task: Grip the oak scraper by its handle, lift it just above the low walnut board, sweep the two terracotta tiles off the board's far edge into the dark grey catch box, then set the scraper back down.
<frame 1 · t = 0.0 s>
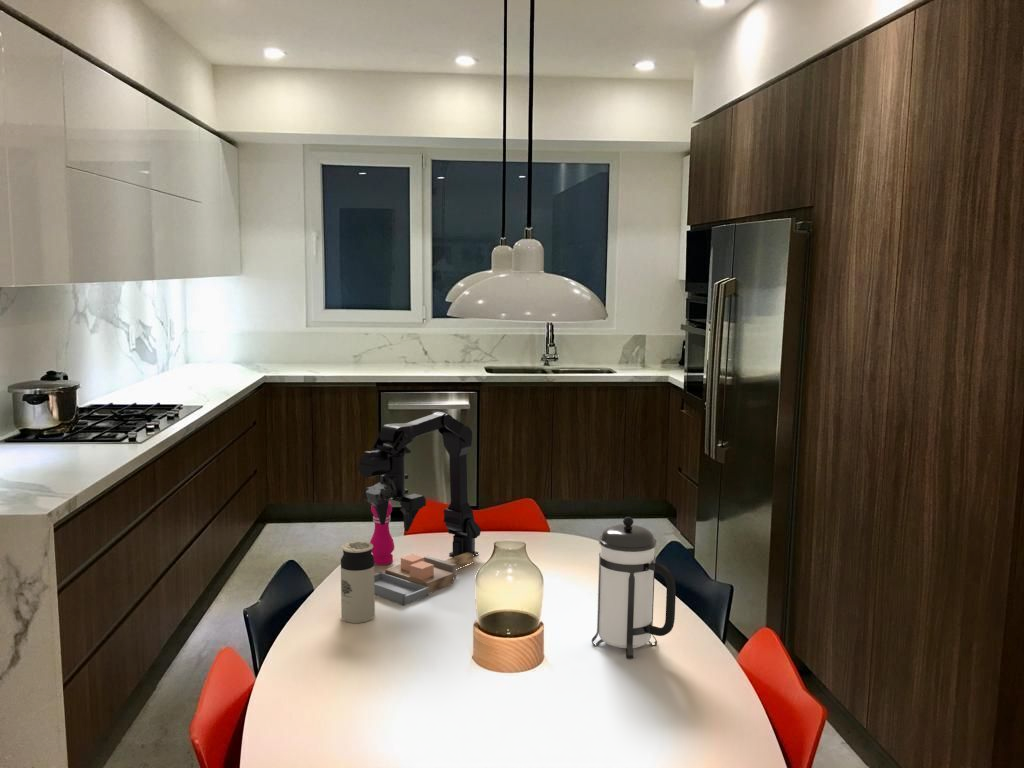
hand: (394, 528, 235), 15 cm above the table, tool pointing down, fingers open, 9 cm apart
catch box: (392, 592, 228), on the table
pepper mill: (381, 562, 253), on the table
scraper: (451, 570, 246), on the table
board: (419, 581, 236), on the table
travel mug: (358, 618, 212), on the table
coffee press: (629, 646, 198), on the table
tile a: (412, 568, 238), point 3 cm above the table, touching board
tile b: (421, 575, 232), point 3 cm above the table, touching board
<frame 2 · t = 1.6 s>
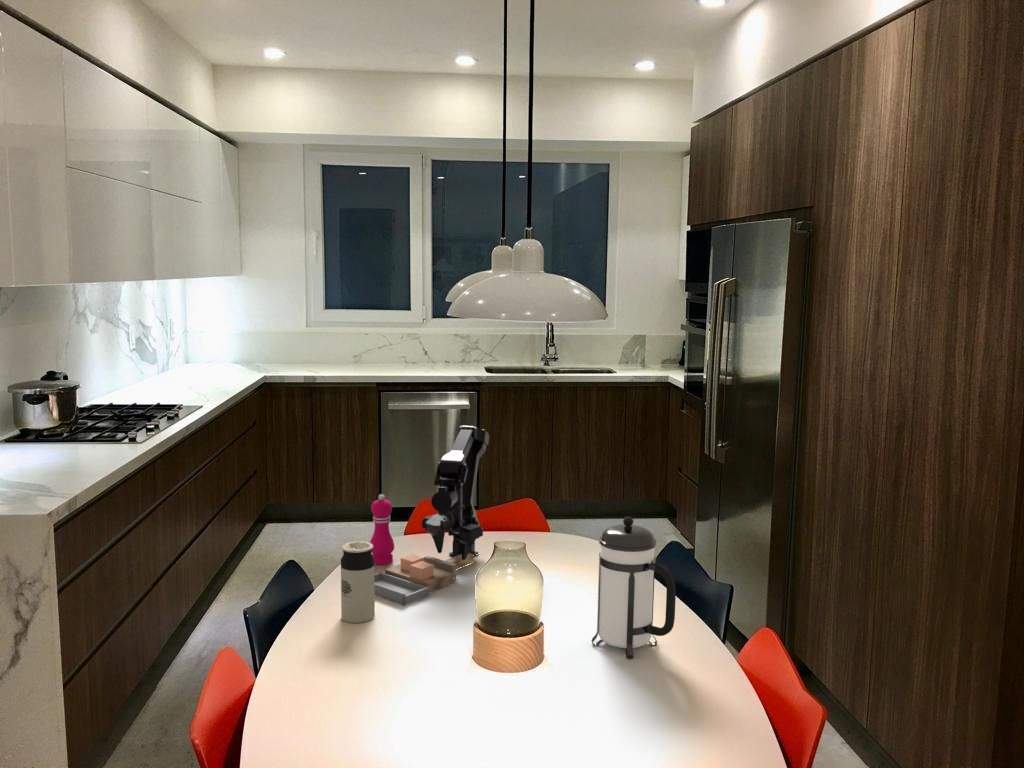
hand: (451, 556, 246), 4 cm above the table, tool pointing down, fingers open, 9 cm apart
nothing on the table moved.
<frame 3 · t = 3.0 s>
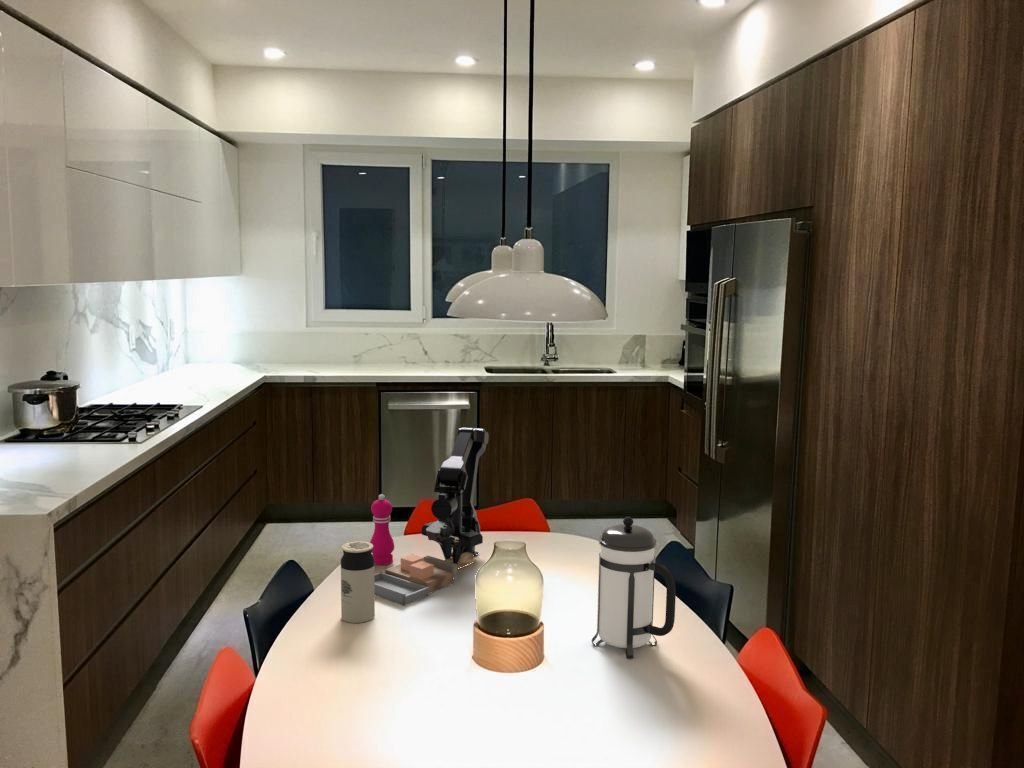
hand: (451, 563, 246), 2 cm above the table, tool pointing down, fingers closed on scraper, 2 cm apart
scraper: (451, 569, 246), on the table, touching gripper
everything else where it was.
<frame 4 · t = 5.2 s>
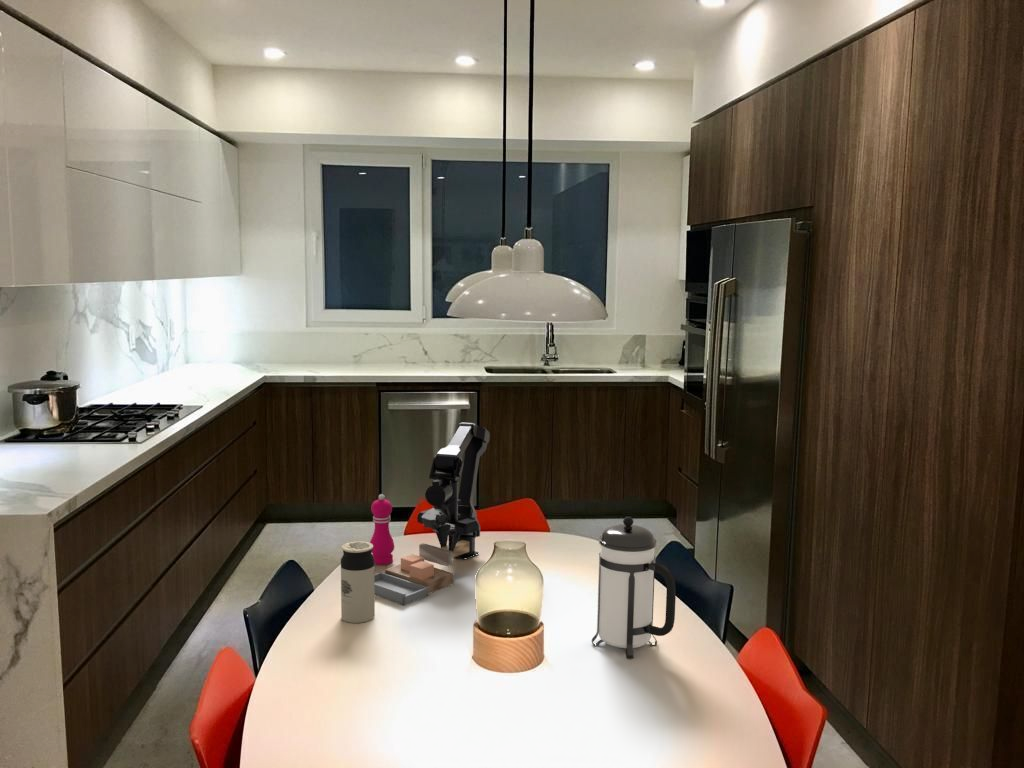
hand: (447, 551, 244), 6 cm above the table, tool pointing down, fingers closed on scraper, 2 cm apart
scraper: (447, 557, 244), point 4 cm above the table, touching gripper
everything else where it was.
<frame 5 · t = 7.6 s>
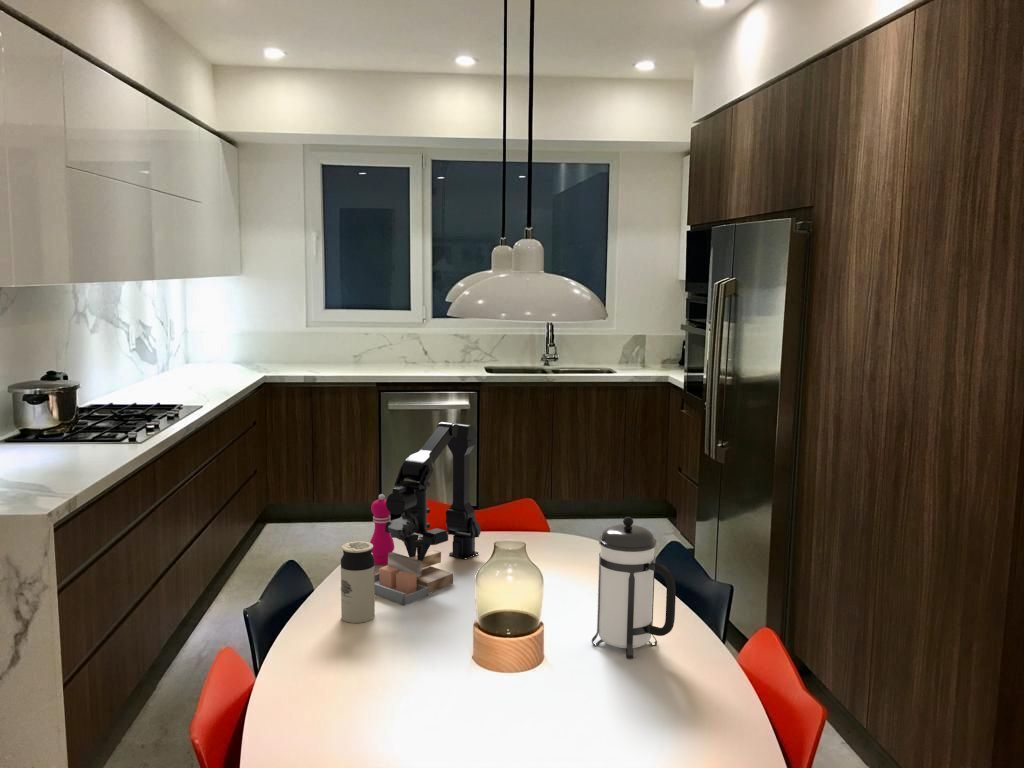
hand: (416, 562, 235), 6 cm above the table, tool pointing down, fingers closed on scraper, 2 cm apart
scraper: (417, 567, 235), point 4 cm above the table, touching gripper
tile a: (393, 575, 233), point 3 cm above the table, tilted 90°, touching catch box
tile b: (410, 581, 229), point 3 cm above the table, tilted 90°, touching catch box
everything else where it was.
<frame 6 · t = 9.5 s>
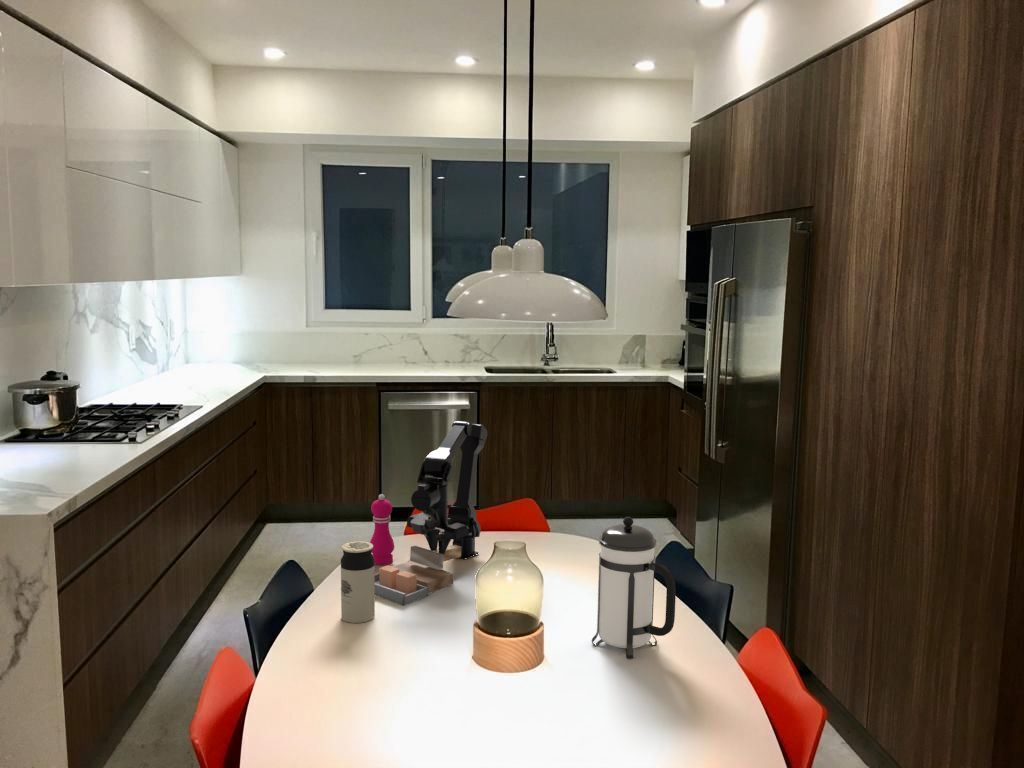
hand: (437, 555, 241), 5 cm above the table, tool pointing down, fingers closed on scraper, 2 cm apart
scraper: (438, 561, 242), point 4 cm above the table, touching gripper
everything else where it was.
when the fingers open (3 cm above the table, at t = 11.1 s): scraper drops 1 cm, on the table.
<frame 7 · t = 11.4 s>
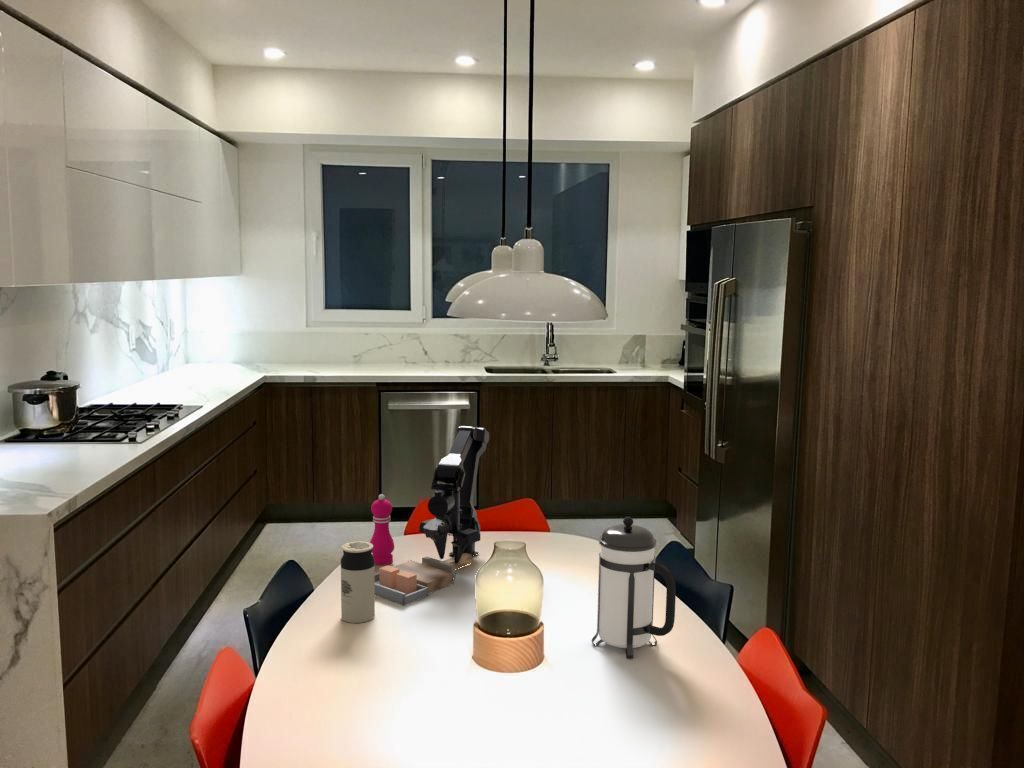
hand: (449, 561, 245), 3 cm above the table, tool pointing down, fingers open, 5 cm apart
scraper: (449, 570, 246), on the table
everything else where it was.
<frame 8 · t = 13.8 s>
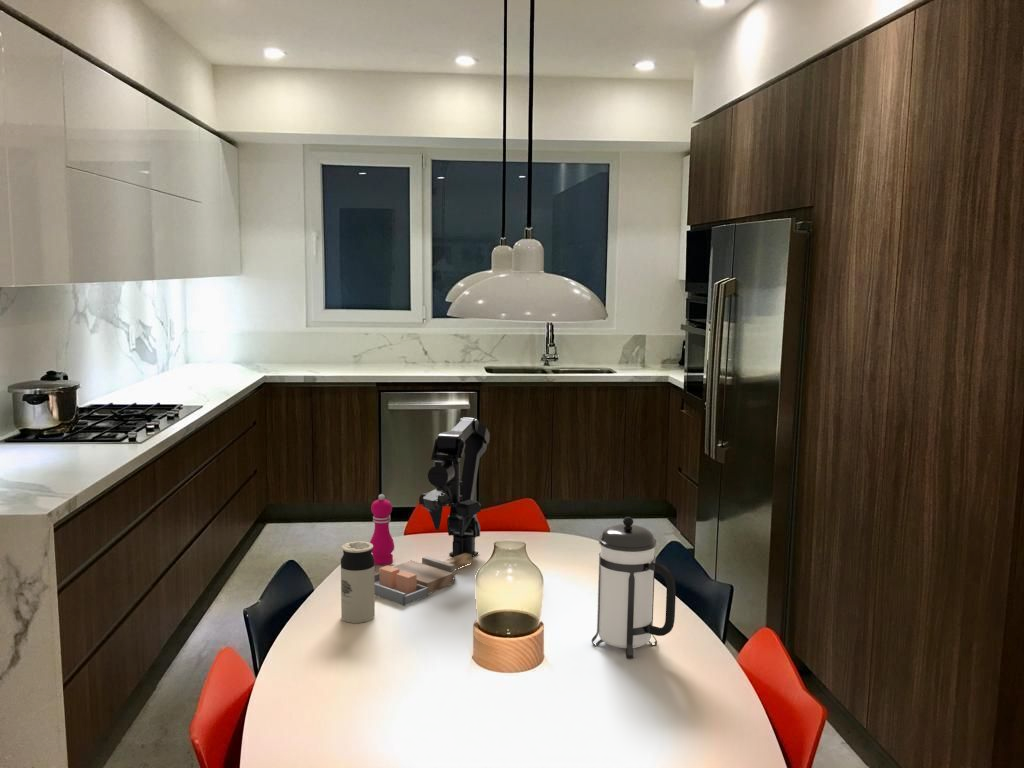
hand: (449, 532, 244), 11 cm above the table, tool pointing down, fingers open, 9 cm apart
nothing on the table moved.
at the end: tile a inside the target area (5.0 cm from its centre), point 2.8 cm above the table; tile b inside the target area (5.0 cm from its centre), point 2.8 cm above the table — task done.
